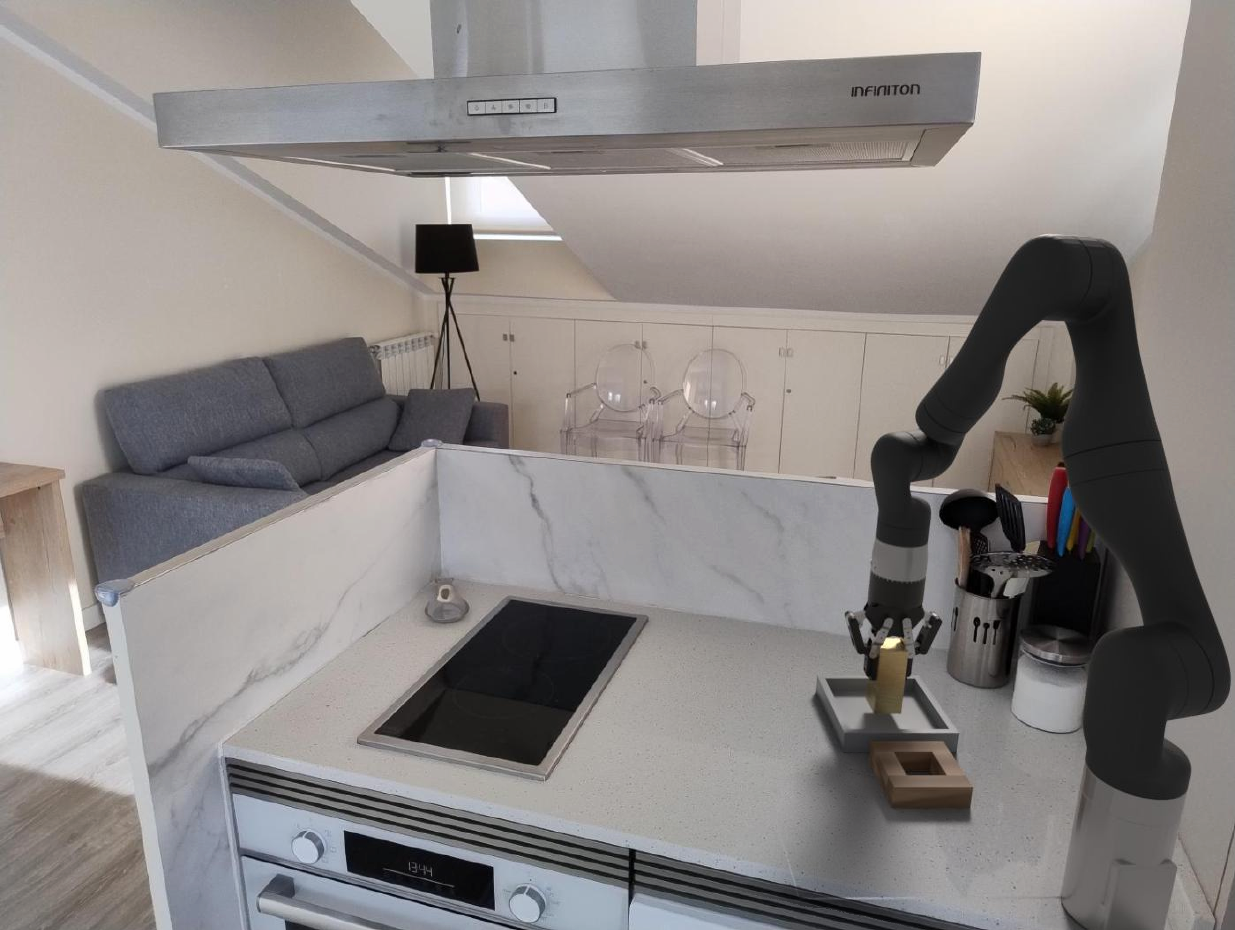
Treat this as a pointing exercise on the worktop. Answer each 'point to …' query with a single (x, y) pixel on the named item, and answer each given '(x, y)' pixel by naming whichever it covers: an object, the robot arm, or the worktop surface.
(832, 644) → the worktop surface
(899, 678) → the pin
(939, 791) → the socket block
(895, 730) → the parts tray
